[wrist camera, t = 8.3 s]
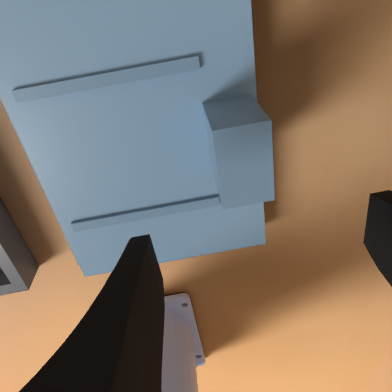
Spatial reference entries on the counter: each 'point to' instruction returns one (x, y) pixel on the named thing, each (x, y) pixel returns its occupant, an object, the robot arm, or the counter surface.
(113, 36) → the lid
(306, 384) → the counter surface
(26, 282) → the grey rectangular tray
